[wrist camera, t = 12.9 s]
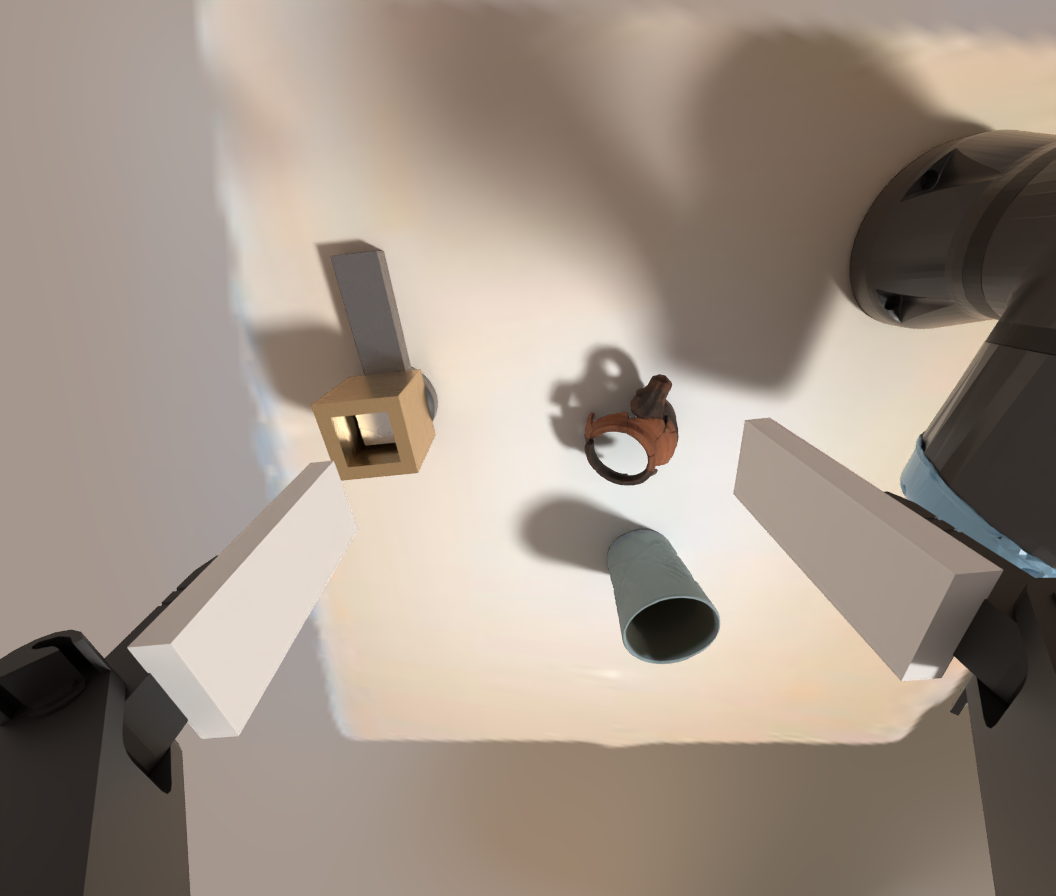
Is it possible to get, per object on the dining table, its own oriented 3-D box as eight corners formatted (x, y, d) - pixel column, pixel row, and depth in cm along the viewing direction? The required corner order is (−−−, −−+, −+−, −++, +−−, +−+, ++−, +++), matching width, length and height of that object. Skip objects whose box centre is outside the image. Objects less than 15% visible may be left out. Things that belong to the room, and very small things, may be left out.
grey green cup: (593, 578, 53) (612, 660, 43) (611, 518, 49) (638, 592, 38) (665, 585, 54) (701, 667, 44) (689, 527, 50) (736, 602, 39)
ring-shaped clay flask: (668, 460, 46) (651, 506, 40) (592, 431, 49) (567, 470, 43) (709, 370, 38) (695, 410, 33) (616, 342, 41) (589, 375, 35)
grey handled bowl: (405, 248, 35) (381, 247, 29) (444, 431, 43) (431, 461, 37) (318, 258, 36) (275, 259, 29) (372, 438, 43) (347, 469, 37)
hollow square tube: (420, 369, 38) (398, 396, 31) (435, 434, 41) (418, 472, 34) (349, 376, 38) (310, 405, 31) (369, 441, 41) (338, 480, 34)
